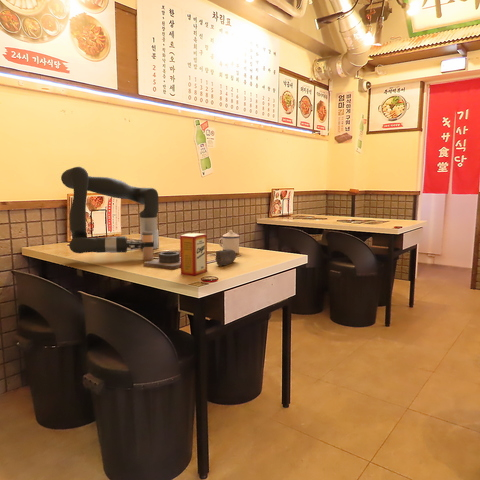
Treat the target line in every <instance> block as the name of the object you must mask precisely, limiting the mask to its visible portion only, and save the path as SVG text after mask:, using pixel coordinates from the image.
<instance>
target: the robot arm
mask: <svg viewBox="0 0 480 480" xmlns="http://www.w3.org/2000/svg"><path fill="white" fill-rule="evenodd" d="M60 178H61V179H60V180H61V182H62V184H63V185H64V186H65V187H66V188H67V189H68V188H69V189H71V190H73V197H72V203H71V206H70V209H69V216H68V217H69V218H68V219H69V231H70V233H71V240H70V242H69V244H68V245H69V246H68V247H69V250H70V251H72V252H73V253H75V254H85V253H97V254H98V253H99V254H103V253H111V254H112V253H113V254H114V253H115V254H116V253H127V252H128V249H130V250H136V249H142V250H143V248H145V247H153V250H155V249H159V247H160V238H159V236H160V235H159V233H160V232H159V230H158V213H159V202H160V201H159V193H158V191H157V189H156V188H153V187H137V186H132V185H130V184H128V183H126V182H124V181H122V180H120V179H116V178H114V177H108V176H107V177H106V176H105V177H104V176H91V175H89V173H88V172H87V170H86V169H85V167H82V166H75V167H72V168H69V169H66V170H65V171H63V173H62V174H61V176H60ZM88 192H92V193H95V194H99V195H102V196H107V197H110V198H116V199H120V200H121V199H122V200H123V199H124V200H129V201H132V202H135V203H137V204H141V205H144V206H143V210H141V211H140V212H139V227H140V239H134V238H133V239H130V240H128V237H127V236H122V235H121V236H108V237H107V236H105V237H104V236H103V237H88V233H87V214H86V210H87V199H88V198H87V196H88ZM142 232H153V242H142Z"/></svg>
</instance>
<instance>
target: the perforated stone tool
mask: <svg viewBox="0 0 480 480" xmlns="http://www.w3.org/2000/svg"><path fill="white" fill-rule="evenodd" d="M236 258H237V254H236V252H235V251H234V250H231V249H226V250H223V249H221V250H217V251H216V252H215V258H214V259H215V261H216V265H217V266H220V267H221V266H226V265H230V264H233V263H234V261H236Z"/></svg>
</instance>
